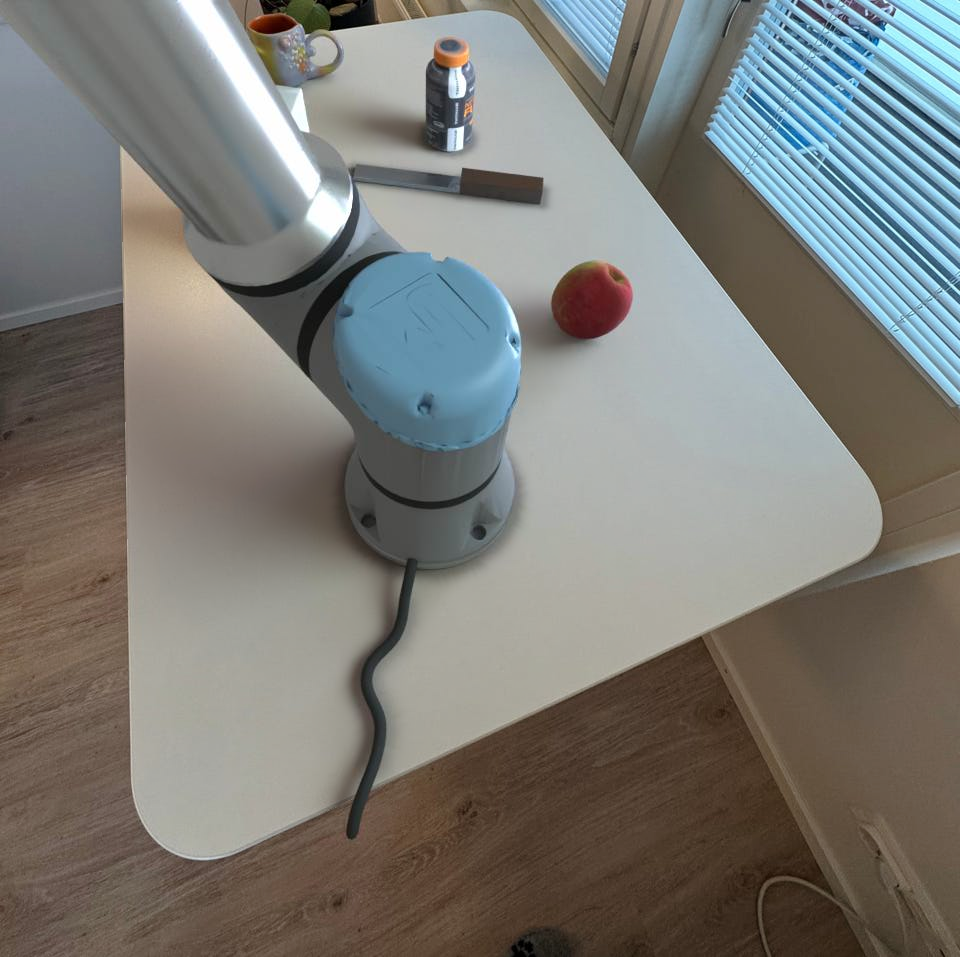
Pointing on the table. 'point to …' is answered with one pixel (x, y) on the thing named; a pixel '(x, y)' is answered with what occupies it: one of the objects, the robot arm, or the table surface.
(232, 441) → the table surface
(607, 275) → the apple
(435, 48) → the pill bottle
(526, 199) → the wooden handled blade
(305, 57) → the mug
